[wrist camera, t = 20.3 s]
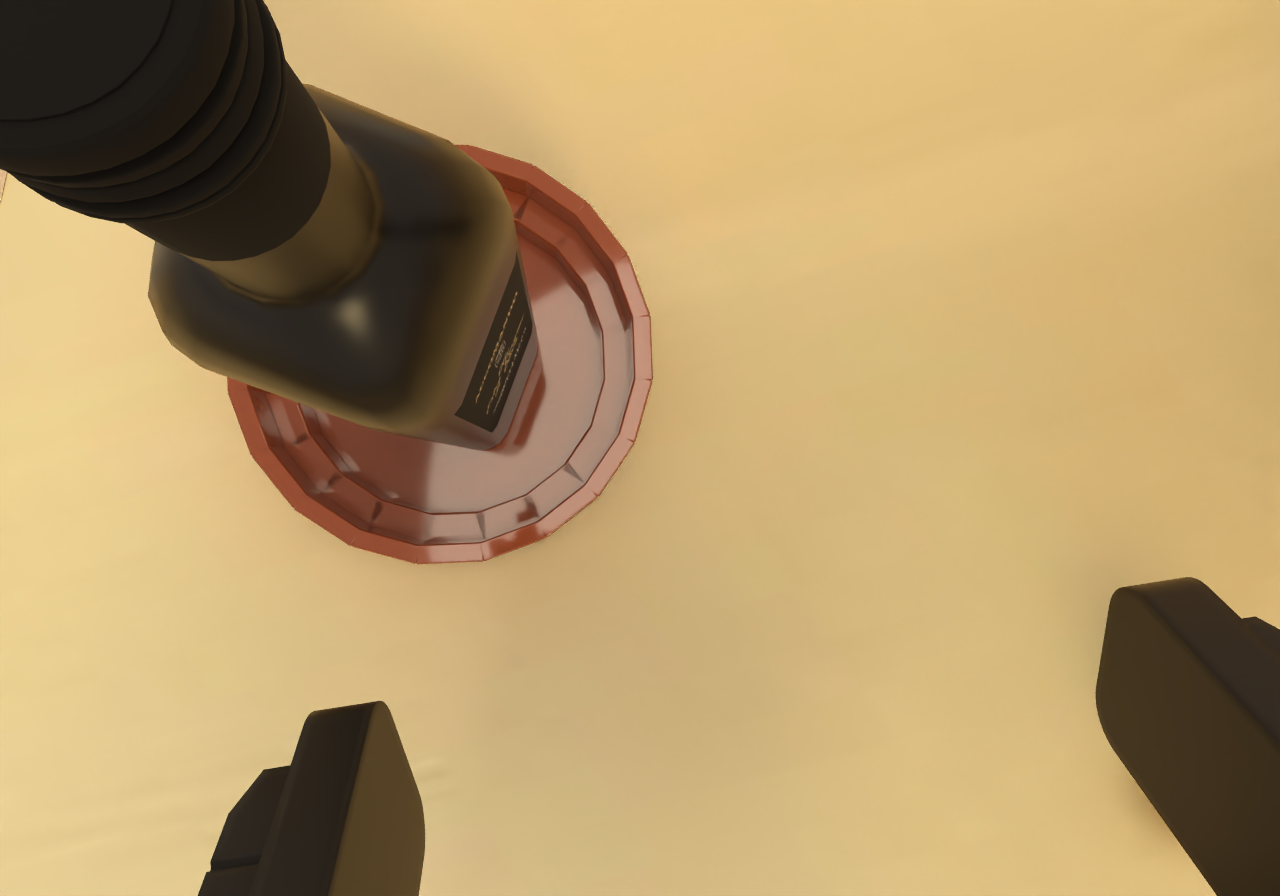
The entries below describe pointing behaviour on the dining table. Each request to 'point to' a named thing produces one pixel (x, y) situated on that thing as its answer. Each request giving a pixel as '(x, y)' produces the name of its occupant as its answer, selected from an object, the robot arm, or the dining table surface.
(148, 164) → the wine bottle
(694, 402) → the dining table surface
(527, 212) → the dish
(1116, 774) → the dining table surface
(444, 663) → the dining table surface
